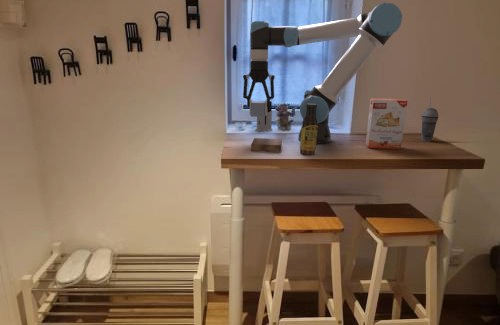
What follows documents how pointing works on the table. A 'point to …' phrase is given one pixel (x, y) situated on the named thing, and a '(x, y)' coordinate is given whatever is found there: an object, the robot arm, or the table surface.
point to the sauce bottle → (309, 131)
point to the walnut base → (266, 145)
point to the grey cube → (258, 109)
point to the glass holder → (265, 121)
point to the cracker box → (386, 123)
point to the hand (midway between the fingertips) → (258, 114)
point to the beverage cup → (428, 123)
